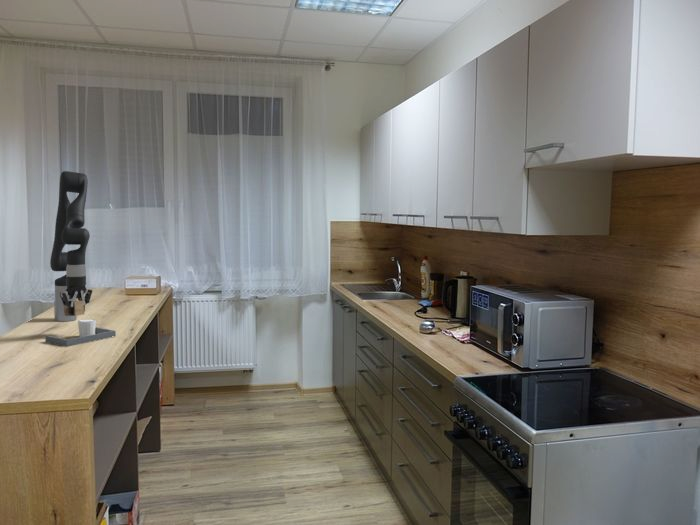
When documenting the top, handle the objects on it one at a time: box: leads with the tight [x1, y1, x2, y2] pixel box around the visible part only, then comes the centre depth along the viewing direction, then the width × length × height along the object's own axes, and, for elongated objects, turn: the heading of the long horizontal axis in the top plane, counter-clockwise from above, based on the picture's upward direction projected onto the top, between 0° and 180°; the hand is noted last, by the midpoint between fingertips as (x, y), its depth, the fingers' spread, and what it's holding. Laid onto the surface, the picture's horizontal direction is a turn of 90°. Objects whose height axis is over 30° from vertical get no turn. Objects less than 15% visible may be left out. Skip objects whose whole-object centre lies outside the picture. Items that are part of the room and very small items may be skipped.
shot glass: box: [77, 318, 97, 337], centre depth 227 cm, size 7×7×7 cm
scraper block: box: [64, 300, 85, 316], centre depth 230 cm, size 8×4×6 cm, turn 60°
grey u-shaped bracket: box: [44, 326, 117, 347], centre depth 222 cm, size 14×22×2 cm, turn 151°
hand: (76, 314), depth 229 cm, fingers closed on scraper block, 4 cm apart
